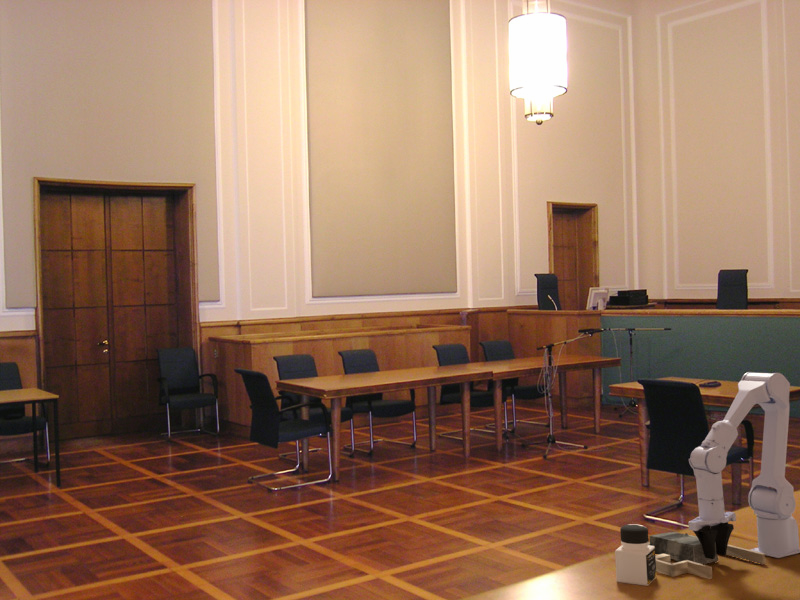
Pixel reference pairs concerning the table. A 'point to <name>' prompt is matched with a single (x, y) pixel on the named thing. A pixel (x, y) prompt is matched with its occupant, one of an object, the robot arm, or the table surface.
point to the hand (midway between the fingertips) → (715, 556)
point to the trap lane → (699, 569)
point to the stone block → (680, 547)
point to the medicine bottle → (635, 556)
